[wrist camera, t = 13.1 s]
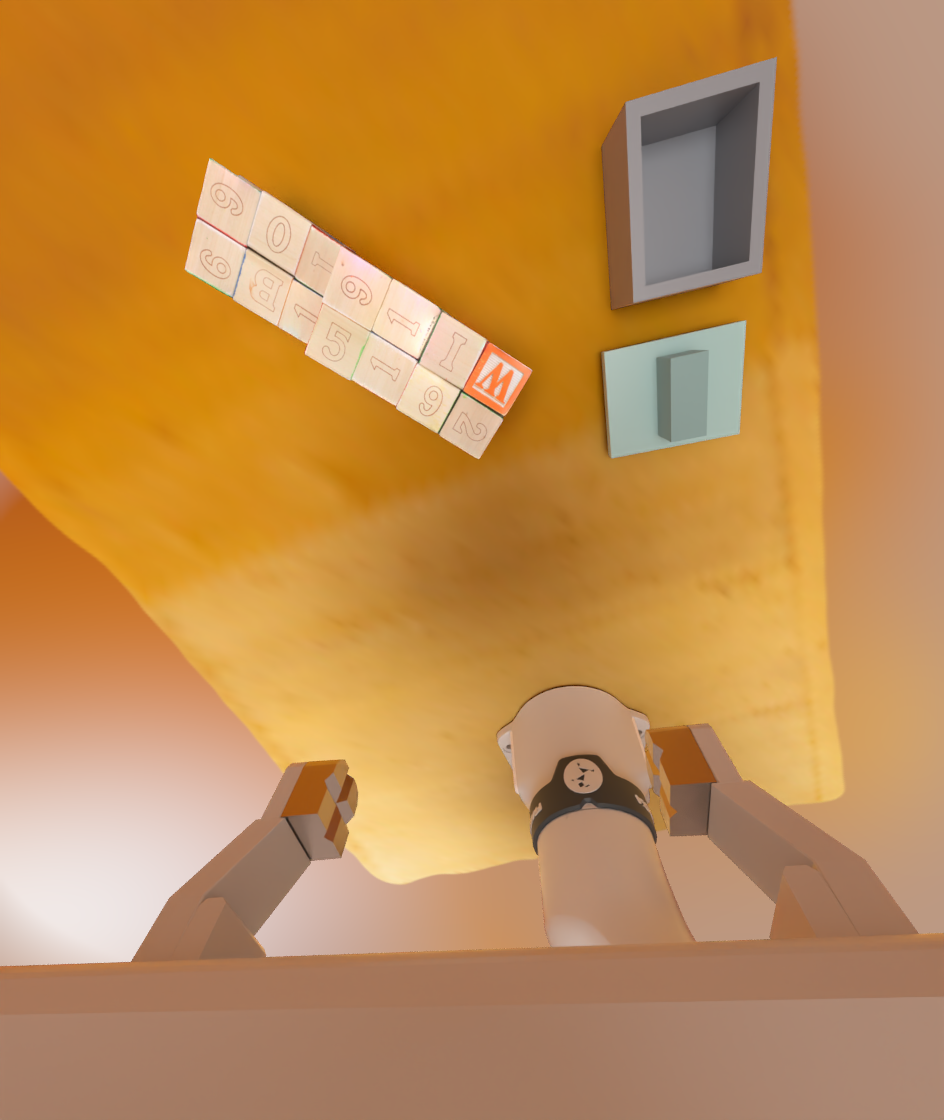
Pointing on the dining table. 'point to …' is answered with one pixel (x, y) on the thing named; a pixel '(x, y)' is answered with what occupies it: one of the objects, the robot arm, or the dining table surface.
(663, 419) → the lid
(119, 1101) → the robot arm
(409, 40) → the dining table surface
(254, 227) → the stack of blocks
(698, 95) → the storage box
